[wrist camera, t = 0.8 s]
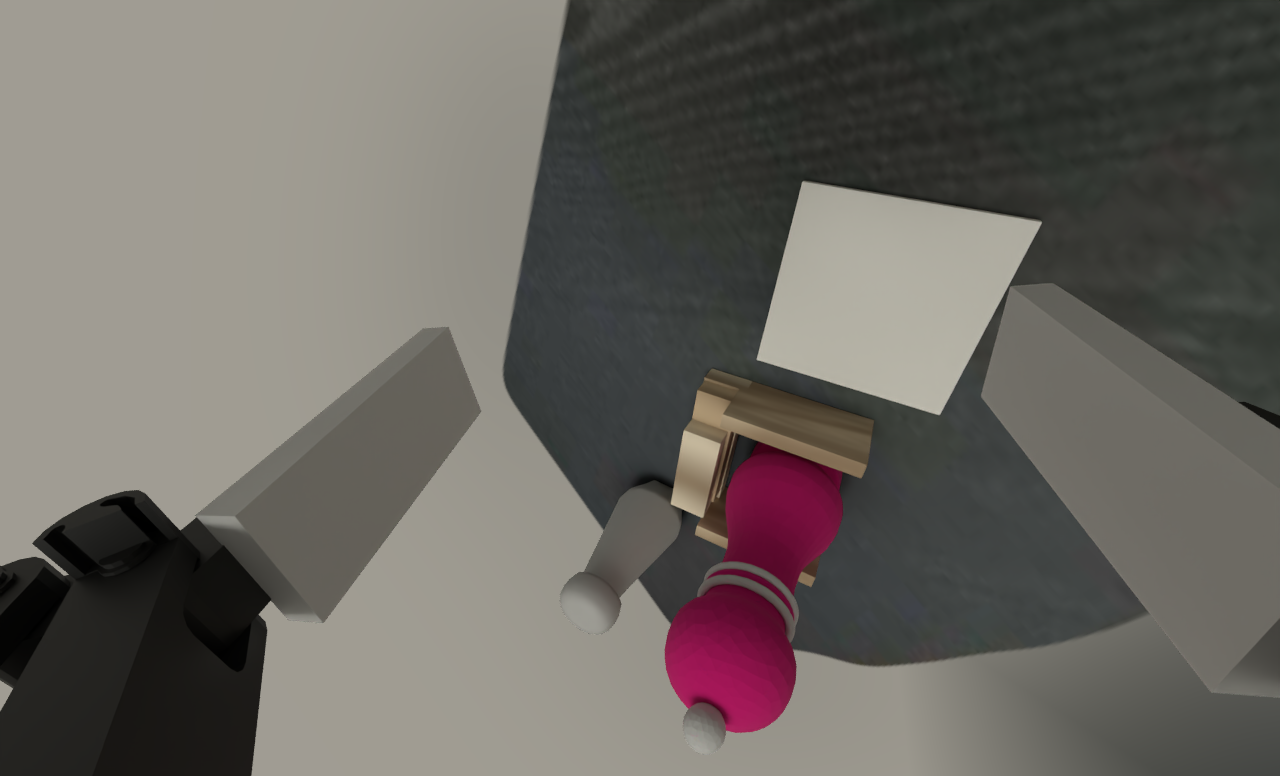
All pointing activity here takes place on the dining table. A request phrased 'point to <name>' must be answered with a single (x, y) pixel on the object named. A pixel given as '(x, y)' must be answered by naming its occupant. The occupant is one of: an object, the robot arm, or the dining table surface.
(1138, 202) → the dining table surface
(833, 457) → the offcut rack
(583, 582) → the salt shaker
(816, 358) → the mat
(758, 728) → the pepper mill
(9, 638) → the robot arm
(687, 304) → the dining table surface
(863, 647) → the dining table surface
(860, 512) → the dining table surface
